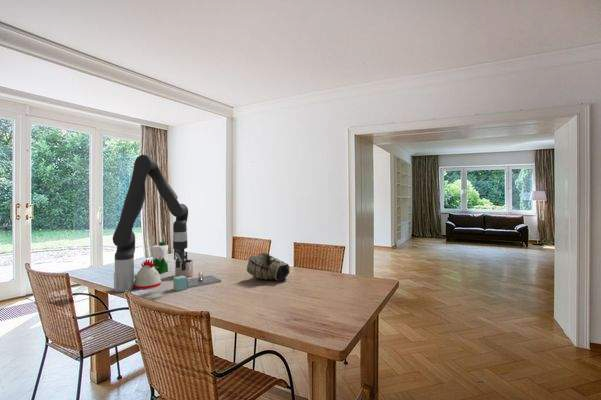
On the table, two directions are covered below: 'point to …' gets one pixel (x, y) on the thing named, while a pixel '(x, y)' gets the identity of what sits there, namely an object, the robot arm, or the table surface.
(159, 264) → the milk carton
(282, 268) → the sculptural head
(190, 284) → the shaft plate
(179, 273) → the planter
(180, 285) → the teal plastic block
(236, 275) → the table surface
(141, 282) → the kitchen timer
